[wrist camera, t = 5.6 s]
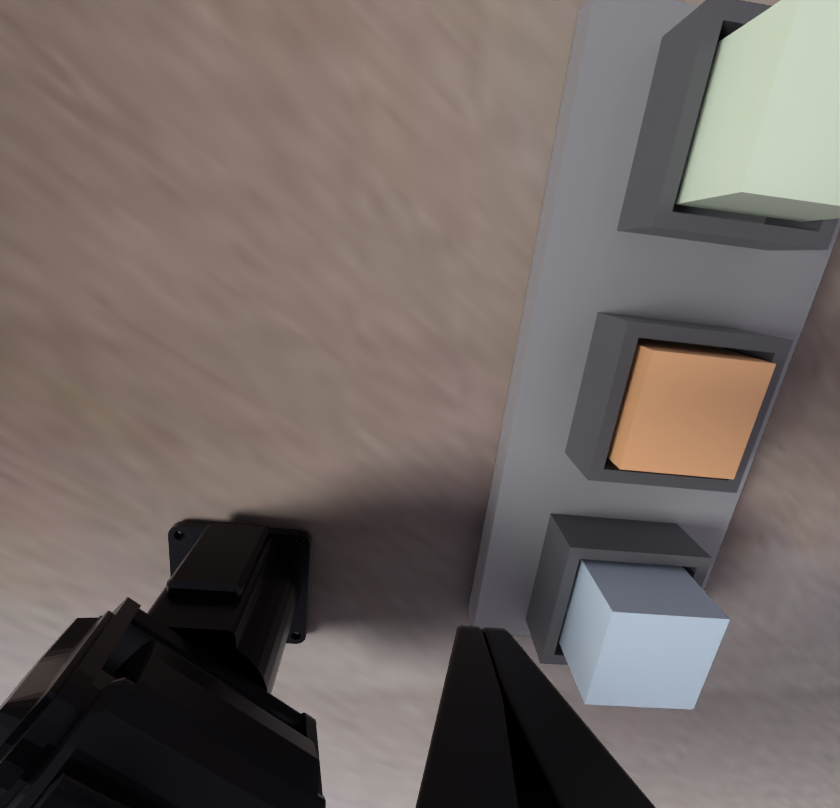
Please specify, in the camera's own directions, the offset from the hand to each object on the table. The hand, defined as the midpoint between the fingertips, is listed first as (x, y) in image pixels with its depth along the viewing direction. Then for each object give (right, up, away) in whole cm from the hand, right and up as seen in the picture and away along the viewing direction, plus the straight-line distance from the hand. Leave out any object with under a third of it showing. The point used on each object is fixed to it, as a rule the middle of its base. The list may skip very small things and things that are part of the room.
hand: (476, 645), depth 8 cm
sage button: (+10, +12, +6) cm, 17 cm away
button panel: (+8, +5, +12) cm, 16 cm away
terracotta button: (+9, +5, +11) cm, 15 cm away
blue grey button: (+8, -5, +12) cm, 15 cm away
